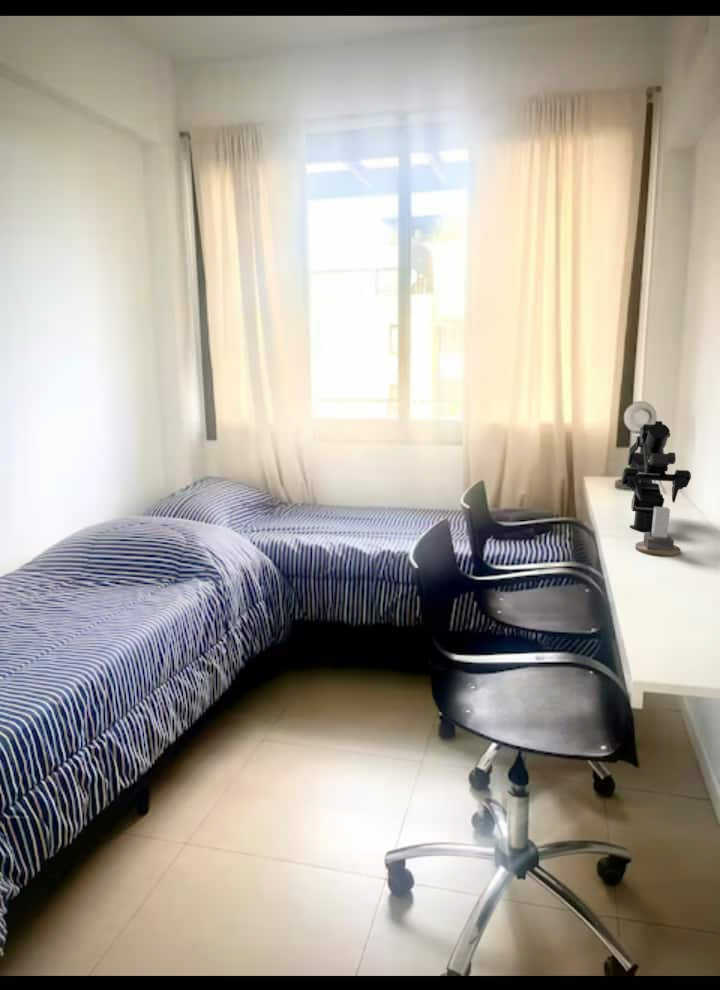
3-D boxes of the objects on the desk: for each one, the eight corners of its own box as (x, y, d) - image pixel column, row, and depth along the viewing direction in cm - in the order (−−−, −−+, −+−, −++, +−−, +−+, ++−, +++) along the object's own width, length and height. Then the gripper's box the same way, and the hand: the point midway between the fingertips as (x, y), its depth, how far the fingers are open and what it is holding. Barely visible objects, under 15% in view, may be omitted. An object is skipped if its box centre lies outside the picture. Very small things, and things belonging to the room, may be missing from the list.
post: (649, 543, 202) (653, 506, 200) (663, 544, 201) (667, 507, 199) (652, 547, 198) (656, 509, 196) (666, 548, 198) (670, 510, 195)
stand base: (632, 542, 207) (633, 530, 206) (675, 545, 205) (676, 532, 204) (638, 554, 196) (640, 541, 195) (684, 557, 193) (685, 544, 192)
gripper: (626, 441, 208) (628, 484, 200) (693, 443, 204) (698, 487, 196) (620, 462, 217) (622, 504, 209) (684, 465, 213) (688, 508, 205)
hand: (657, 500), depth 204 cm, fingers open, 9 cm apart
